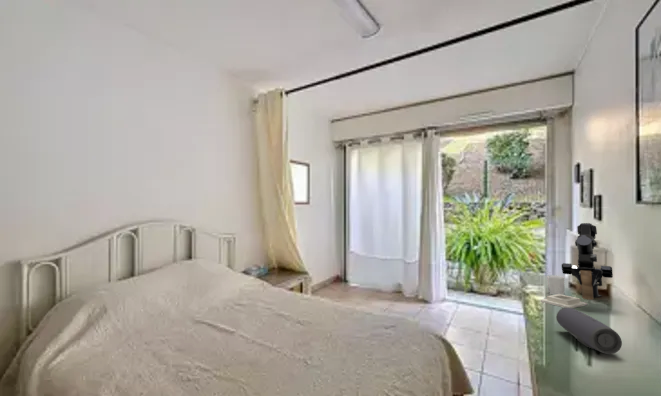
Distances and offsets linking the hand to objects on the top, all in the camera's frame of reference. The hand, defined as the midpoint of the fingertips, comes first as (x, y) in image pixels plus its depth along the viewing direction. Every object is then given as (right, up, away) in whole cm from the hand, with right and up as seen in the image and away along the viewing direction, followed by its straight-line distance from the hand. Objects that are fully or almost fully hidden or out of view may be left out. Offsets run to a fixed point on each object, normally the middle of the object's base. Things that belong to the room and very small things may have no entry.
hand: (586, 284), depth 143 cm
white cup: (+8, -14, +30) cm, 34 cm away
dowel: (+1, -7, +1) cm, 7 cm away
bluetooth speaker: (-28, -12, -34) cm, 45 cm away
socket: (-1, -13, +14) cm, 19 cm away
